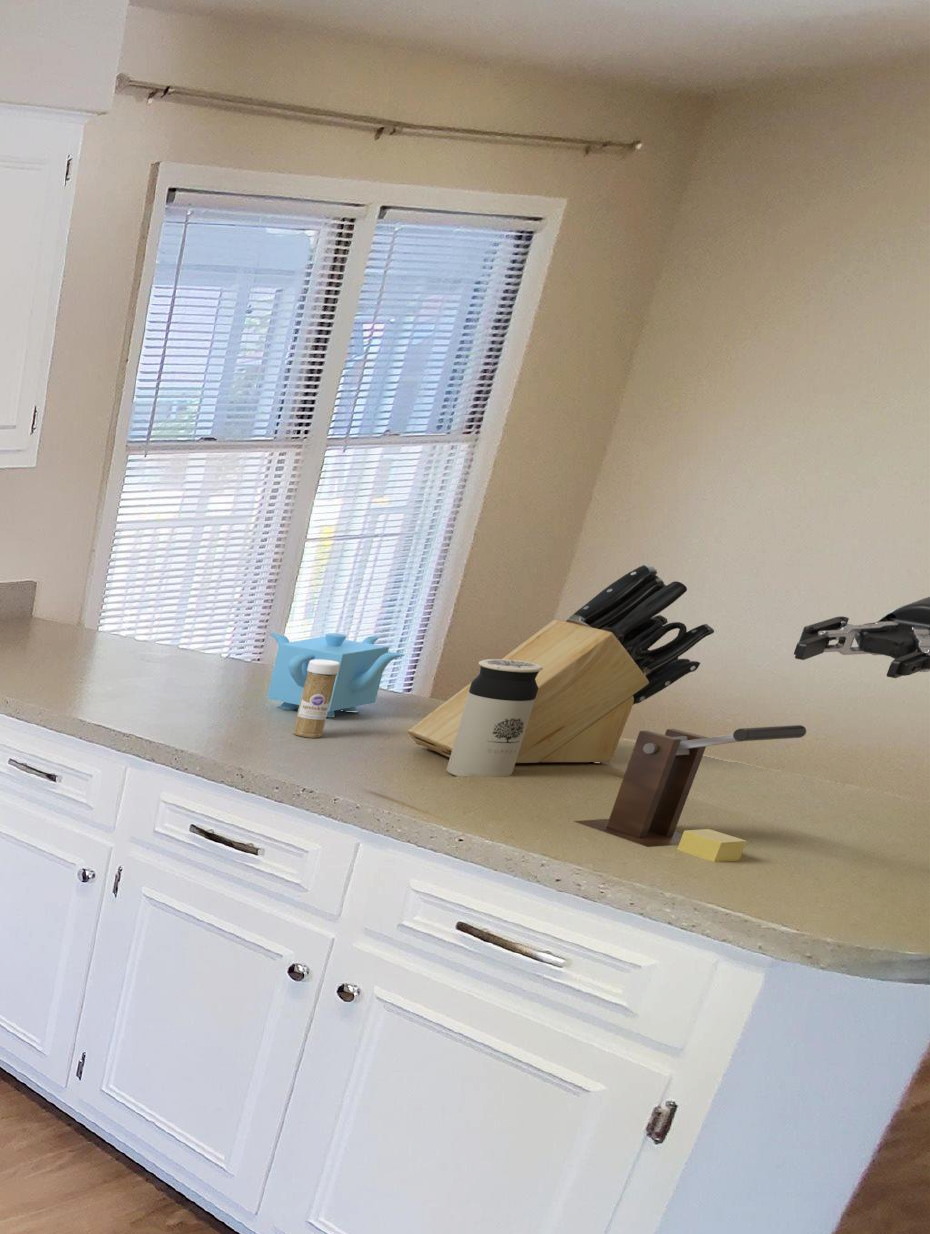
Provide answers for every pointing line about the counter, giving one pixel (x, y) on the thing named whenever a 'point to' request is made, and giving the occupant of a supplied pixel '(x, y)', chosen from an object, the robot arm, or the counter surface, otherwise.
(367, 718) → the counter surface
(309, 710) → the sprinkles bottle
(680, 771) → the stand
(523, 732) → the travel mug
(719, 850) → the butter
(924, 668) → the robot arm
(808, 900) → the counter surface
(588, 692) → the knife block
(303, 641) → the teakettle
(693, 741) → the lever
